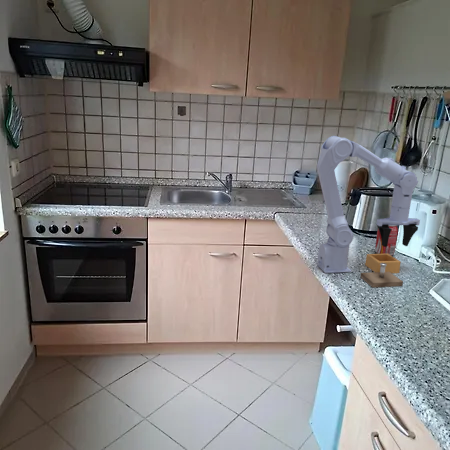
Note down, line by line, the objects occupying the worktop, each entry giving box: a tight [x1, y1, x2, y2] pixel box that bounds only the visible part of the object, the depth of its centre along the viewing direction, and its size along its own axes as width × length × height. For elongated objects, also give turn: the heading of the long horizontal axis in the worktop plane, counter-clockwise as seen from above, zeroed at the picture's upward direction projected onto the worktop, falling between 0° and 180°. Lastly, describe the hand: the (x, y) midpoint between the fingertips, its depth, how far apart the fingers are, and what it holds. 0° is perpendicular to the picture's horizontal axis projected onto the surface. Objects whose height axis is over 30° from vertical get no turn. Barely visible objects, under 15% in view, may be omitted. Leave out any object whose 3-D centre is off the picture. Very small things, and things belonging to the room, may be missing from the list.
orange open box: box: [365, 253, 402, 274], centre depth 142 cm, size 8×8×4 cm
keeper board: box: [360, 263, 404, 288], centre depth 131 cm, size 10×8×6 cm
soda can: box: [374, 225, 399, 256], centre depth 156 cm, size 7×7×12 cm
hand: (394, 245), depth 141 cm, fingers open, 7 cm apart
